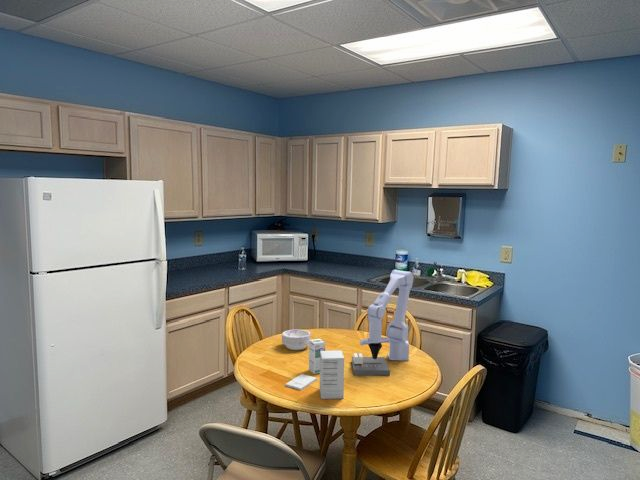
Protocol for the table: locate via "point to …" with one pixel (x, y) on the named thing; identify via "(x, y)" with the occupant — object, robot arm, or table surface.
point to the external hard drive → (301, 382)
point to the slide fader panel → (371, 367)
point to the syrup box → (315, 354)
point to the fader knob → (358, 358)
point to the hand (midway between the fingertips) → (374, 358)
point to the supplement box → (331, 374)
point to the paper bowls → (296, 339)
